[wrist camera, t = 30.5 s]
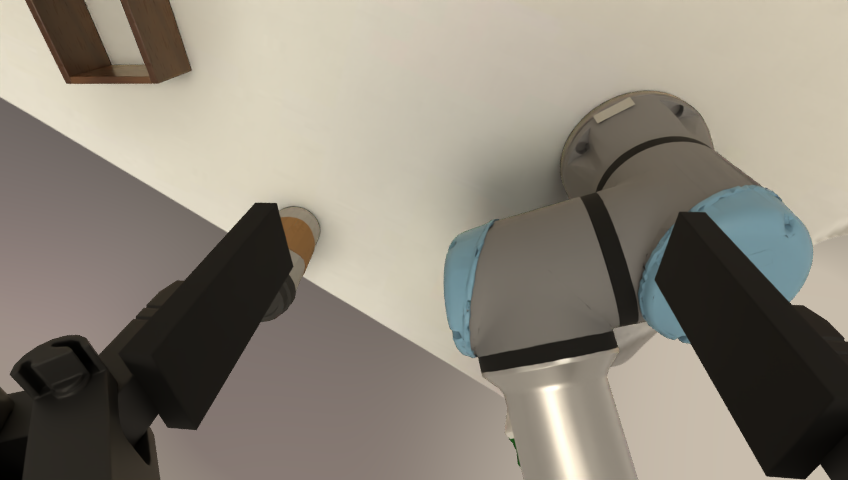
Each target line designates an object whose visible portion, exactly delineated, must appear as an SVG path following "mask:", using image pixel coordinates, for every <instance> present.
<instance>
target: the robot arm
mask: <svg viewBox="0 0 848 480" xmlns="http://www.w3.org/2000/svg"><path fill="white" fill-rule="evenodd" d="M560 173H561V179H562V183H563V185H564V188H565V190H566V193H567V195H568V197H569V198H570V200H566V201H563V202H559V203H556V204H553V205H549V206H546V207H542V208H539V209H536V210H532V211H529V212H525V213H522V214H518V215H515V216H512V217H508V218H504V219H501V220H499V219H494V220H491V221H490V222H489V223H487V224H485V225H482V226H479V227H476V228H474V229H471V230H468V231H465V232H463V233H461V234H459V235H458V236H457V237H455V239H454V240H453V241H452V243H451V245H450V246H449V249H448V253H447V255H446V259H445V266H444V298H445V307H446V314H447V319H448V324H449V327H450V329H451V330H452V332H453V340H454V342H455V345H456V347H457V348H458V350H459V351H460V352H461V353H462V354H463V355H465V356H470V357H472V358H475V357H478V358H479V363H480V368H481V373H482V376H483V377H484V378H485V379H487V380H488V381H489V382H491V383H492V384H494V385H495V386H496V387H498V388H499V389H500V390H501V391H502V392H503V394H504V396H505V400H506V404H507V409H508V413H509V418H510V422H511V426H512V431H513V435H514V440H515V444H516V448H517V453H518V457H519V462H520V466H521V470H522V474H523V479H524V480H638V478H637V475H636V471H635V468H634V465H633V462H632V458H631V455H630V452H629V448H628V445H627V442H626V438H625V435H624V432H623V428H622V425H621V422H620V418H619V416H618V412H617V409H616V405H615V402H614V399H613V395H612V392H611V389H610V386H609V382H608V379H607V374H608V370H609V368H610V366H611V365H612V363H613V361H614V359H615V358H616V356H617V354H618V352H619V348H618V345H617V342H616V339H615V336H614V333H613V329H614V328H617V327H621V326H626V325H631V324H636V323H642V322H647V323H648V325H649V326H651V327H652V328H653V329H655V330H656V331H657V332H658V333H660V334H661V335H663V336H664V337H666V338H669V339H672V340H675V339H677V338H678V339H679V340H680V341H681V342H683V343H689V344H691V345H692V347H693V349H694V350H695V352H696V354H697V355H698V357H699V359H700V361H701V363H702V364H703V366H704V368H705V370H706V371H707V373H708V375H709V377H710V378H711V380H712V382H713V384H714V385H715V387H716V389H717V391H718V392H719V394H720V396H721V398H722V399H723V401H724V403H725V405H726V406H727V408H728V410H729V411H730V413H731V415H732V417H733V419H734V420H735V422H736V424H737V426H738V427H739V429H740V431H741V433H742V434H743V436H744V438H745V440H746V441H747V443H748V445H749V447H750V448H751V450H752V452H753V454H754V455H755V457H756V459H757V461H758V462H759V464H760V466H761V467H762V469H763V471H764V473H765V475H766V476H769V477H781V478H793V479H806V478H807V477H808V476H809V475H810V474H811V473H812V472H813V471H814V470H815V469H816V468H817V467H818V466H819V465H820V464H821V466H822V467H823V469H824V470H825V472H826V473H827V475H828V476H829V478H830V479H831V480H848V342H845V341H844V337H843V336H842V335H841V334H840V333H839V332H838V331H837V330H836V329H835V328H834V327H833V326H832V325H831V324H830V323H829V322H828V321H827V320H825V319H824V318H822V317H821V316H819V315H817V314H816V313H814V312H813V311H811V310H810V309H808V308H807V307H805V306H803V305H791V303H790V301H791V300H792V299H793V298H794V297H795V296H796V294H797V293H798V292H799V291H800V289H801V288H802V286H803V284H804V282H805V281H806V278H807V276H808V274H809V271H810V268H811V265H812V259H813V245H812V240H811V237H810V235H809V232H808V230H807V228H806V227H805V225H804V224H803V223H802V221H801V220H800V219H799V218H798V217H797V216H796V215H795V214H794V213H793V212H792V211H791V210H790V209H789V208H788V207H787V206H786V205H785V204H784V203H783V202H782V199H781V198H780V197H779V196H778V195H777V194H775V193H774V192H773V191H771V190H768V189H767V188H764V187H762V186H761V185H760V184H758V183H757V182H756V181H754V180H753V179H752V178H750V177H749V176H748V175H746V174H745V173H744V172H742V171H741V170H740V169H738V168H737V167H736V166H734V165H733V164H732V163H730V162H729V161H728V160H726V159H725V158H724V157H722V156H721V155H720V154H719V153H717V152H716V151H714V147H713V143H712V139H711V136H710V132H709V129H708V127H707V125H706V123H705V121H704V119H703V118H702V116H701V115H700V114H699V113H698V112H697V110H695V109H694V108H693V107H692V106H691V105H689V104H688V103H686V102H684V101H683V100H681V99H680V98H678V97H676V96H674V95H671V94H668V93H664V92H659V91H637V92H632V93H627V94H624V95H620V96H618V97H615V98H613V99H611V100H608V101H606V102H605V103H603V104H601V105H599V106H598V107H597V108H595V109H594V110H592V111H591V112H590V113H589V114H587V115H586V116H585V117H584V118H583V119H582V120H581V121H580V122H579V124H578V125H577V126H576V127H575V129H574V130H573V131H572V133H571V134H570V136H569V138H568V140H567V142H566V144H565V146H564V149H563V152H562V157H561V164H560ZM293 267H294V266H293V262H292V259H291V255H290V251H289V247H288V244H287V240H286V236H285V232H284V229H283V225H282V221H281V217H280V214H279V210H278V206H277V203H255V204H254V205H253V206H252V207H251V208H250V209H249V210H248V212H247V213H246V214H245V215H244V216H243V217H242V218H241V219H240V220H239V221H238V223H237V224H236V225H235V226H234V227H233V228H232V229H231V230H230V231H229V232H228V233H227V235H226V236H225V237H224V238H223V239H222V240H221V241H220V242H219V243H218V244H217V246H216V247H215V248H214V249H213V250H212V251H211V252H210V253H209V254H208V255H207V257H206V258H205V259H204V260H203V261H202V262H201V263H200V264H199V265H198V267H197V268H196V269H195V270H194V271H193V272H192V273H191V274H190V275H189V276H188V277H187V278H186V280H185V281H175V282H174V283H172V284H171V285H169V286H168V287H166V288H165V289H163V290H162V291H160V292H159V293H158V294H157V295H156V296H155V297H154V298H153V299H152V300H151V301H150V302H149V303H148V304H147V307H146V308H143V309H142V311H141V312H140V313H139V314H138V315H137V316H136V319H133V320H132V321H131V322H130V323H129V324H128V325H127V326H126V327H125V328H124V329H123V330H122V331H121V332H120V333H119V335H118V336H117V337H116V338H115V339H114V340H113V341H112V342H111V343H110V344H109V345H108V346H107V347H106V348H105V349H104V350H103V351H102V352H101V353H100V354H99V355H98V354H97V352H96V351H95V350H94V348H93V347H92V346H91V344H90V343H89V341H88V340H87V339H86V338H85V337H82V336H80V335H67V336H63V337H59V338H56V339H52V340H50V341H48V342H46V343H44V344H42V345H39V346H37V347H36V348H34V349H33V350H31V351H30V352H28V353H27V354H26V355H24V356H23V357H22V358H21V359H20V360H19V361H18V362H17V363H16V364H15V365H14V367H13V369H12V371H11V373H10V375H11V376H12V378H13V379H14V380H15V381H16V382H17V383H18V384H19V385H20V386H21V387H22V388H23V389H24V390H25V391H21V392H16V393H11V394H6V392H4V390H3V389H2V388H1V387H0V480H160V475H159V468H158V460H157V452H156V446H155V438H154V434H153V432H152V430H151V428H150V427H149V426H150V425H151V424H152V422H153V421H154V419H155V418H156V416H157V415H158V414H159V415H160V417H161V418H162V420H163V421H164V423H165V424H166V426H167V427H168V428H179V429H191V430H197V428H198V427H199V425H200V423H201V421H202V420H203V418H204V416H205V415H206V413H207V411H208V410H209V408H210V406H211V405H212V403H213V401H214V400H215V398H216V396H217V395H218V393H219V391H220V389H221V388H222V386H223V384H224V383H225V381H226V379H227V378H228V376H229V374H230V373H231V371H232V369H233V368H234V366H235V364H236V363H237V361H238V359H239V357H240V356H241V354H242V352H243V351H244V349H245V347H246V346H247V344H248V342H249V341H250V339H251V337H252V336H253V334H254V332H255V330H256V329H257V327H258V325H259V323H260V322H261V321H262V319H263V317H264V315H265V314H266V312H267V310H268V309H269V307H270V305H271V304H272V302H273V300H274V299H275V297H276V295H277V294H278V292H279V290H280V289H281V287H282V285H283V283H284V282H285V280H286V278H287V277H288V275H289V273H290V272H291V270H292V268H293Z"/></svg>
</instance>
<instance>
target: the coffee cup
mask: <svg viewBox="0 0 848 480" xmlns="http://www.w3.org/2000/svg"><path fill="white" fill-rule="evenodd" d="M279 214H280V217H281V221H282V225H283V229H284V232H285V236H286V240H287V244H288V247H289V251H290V255H291V259H292V262H293V266H294V267H293V268H292V270H291V272H290V273H289V275H288V277H287V278H286V280H285V282H284V283H283V285H282V287H281V289H280V290H279V292H278V294H277V295H276V297H275V299H274V300H273V302H272V304H271V305H270V307H269V309H268V310H267V312H266V314H265V315H264V317H263V319H262V321H261V322H264V321H270V320H273V319H275V318H277V317H278V316H279V315H280V314H282V313H283V312H285V311H286V310H287V309H288V307H289V306H290V304H292V302H293V300H294V299H295V294H296V290H297V287H298V285H299V283H300V280H301V278H302V276H303V274H304V273H305V271H306V268H307V266H308V264H309V261H310V259H311V256H312V254H313V252H314V248H315V245H316V243H317V241H318V238H319V235H320V227H319V224H318V221H317V219H316V218H315V217H314V215H312V214H311V213H310V212H309V211H307V210H305V209H303V208H300V207H289V208H284V209H282V210H280V211H279Z"/></svg>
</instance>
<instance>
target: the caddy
mask: <svg viewBox="0 0 848 480" xmlns="http://www.w3.org/2000/svg"><path fill="white" fill-rule="evenodd" d="M25 1H26V3H27V5H28V7H29V9H30V11H31V13H32V15H33V17H34V19H35V21H36V23H37V25H38V27H39V29H40V31H41V33H42V35H43V37H44V39H45V41H46V43H47V45H48V47H49V49H50V51H51V53H52V55H53V57H54V59H55V61H56V64H57V66H58V68H59V70H60V72H61V74H62V76H63V78H64V80H65V82H66V83H67V84H152V83H153V84H158V83H161V82H163V81H166V80H169V79H171V78H174V77H176V76H179V75H181V74H184V73H187V72H189V71H191V67H190V64H189V61H188V58H187V55H186V52H185V49H184V46H183V43H182V40H181V37H180V34H179V31H178V27H177V24H176V21H175V18H174V15H173V12H172V9H171V6H170V3H169V0H120V1H121V3H122V6H123V8H124V11H125V14H126V16H127V19H128V21H129V24H130V27H131V29H132V32H133V35H134V37H135V40H136V42H137V45H138V48H139V50H140V53H141V55H142V58H143V61H144V63H145V65H111V63H110V61H109V58H108V56H107V54H106V51H105V49H104V47H103V44H102V42H101V40H100V37H99V35H98V33H97V30H96V28H95V26H94V23H93V21H92V19H91V16H90V14H89V12H88V9H87V7H86V4H85V2H84V0H25Z"/></svg>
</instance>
